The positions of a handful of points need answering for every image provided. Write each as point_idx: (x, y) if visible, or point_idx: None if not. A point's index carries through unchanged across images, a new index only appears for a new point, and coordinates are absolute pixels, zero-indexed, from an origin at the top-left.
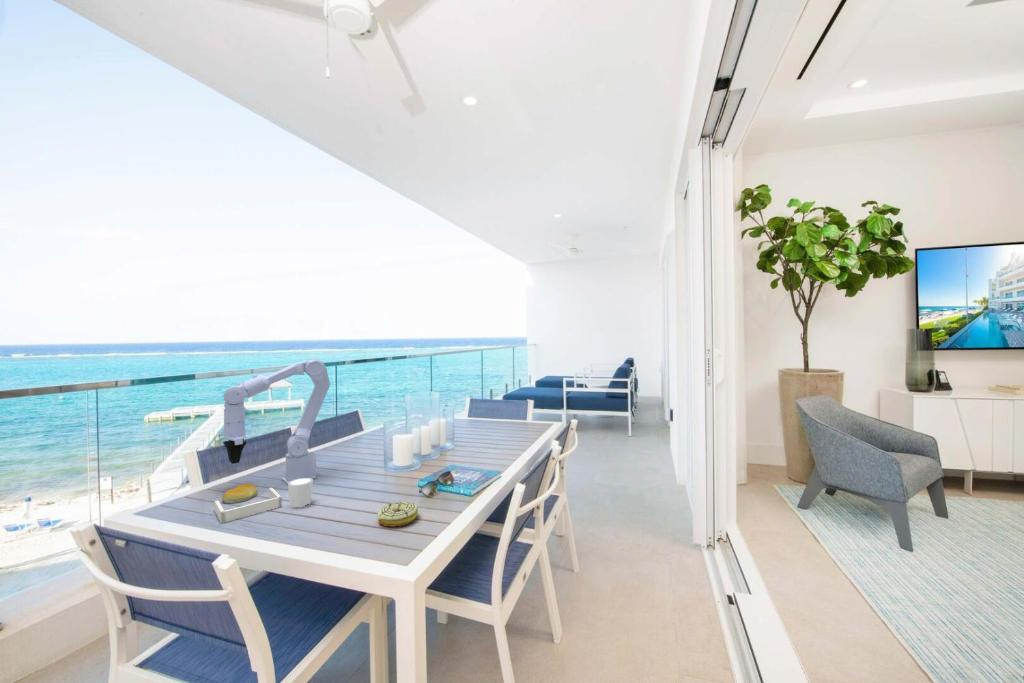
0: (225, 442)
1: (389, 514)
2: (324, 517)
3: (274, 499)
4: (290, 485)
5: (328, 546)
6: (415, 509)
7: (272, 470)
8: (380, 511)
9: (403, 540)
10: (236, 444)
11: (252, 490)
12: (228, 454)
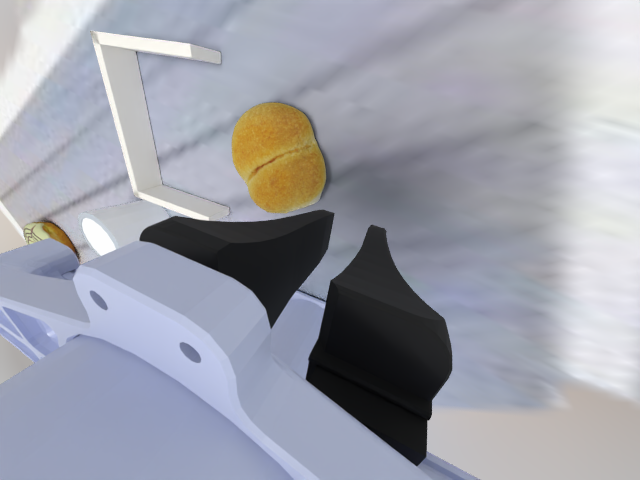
0: (330, 310)
1: (26, 231)
2: (90, 201)
3: (132, 179)
4: (83, 212)
5: (12, 145)
6: None
7: (483, 369)
8: (36, 233)
9: (18, 206)
10: (48, 248)
11: (249, 192)
12: (363, 243)
